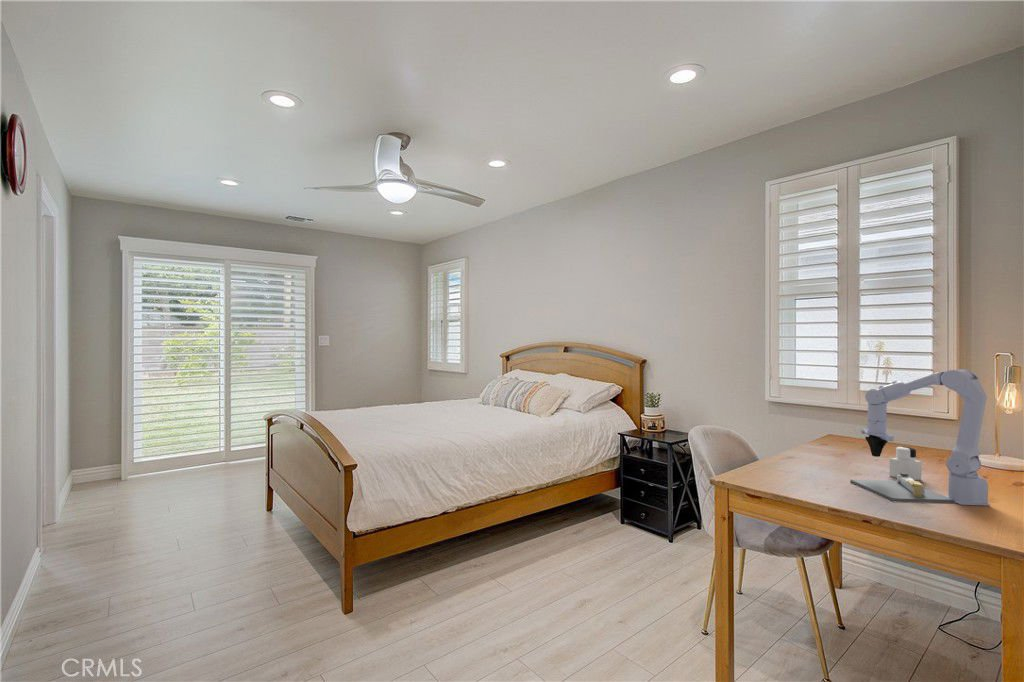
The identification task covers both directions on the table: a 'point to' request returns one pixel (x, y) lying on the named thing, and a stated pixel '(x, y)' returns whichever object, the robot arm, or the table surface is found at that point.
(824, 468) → the table surface
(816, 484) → the table surface
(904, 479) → the link
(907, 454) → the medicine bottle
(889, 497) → the board
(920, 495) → the keeper
